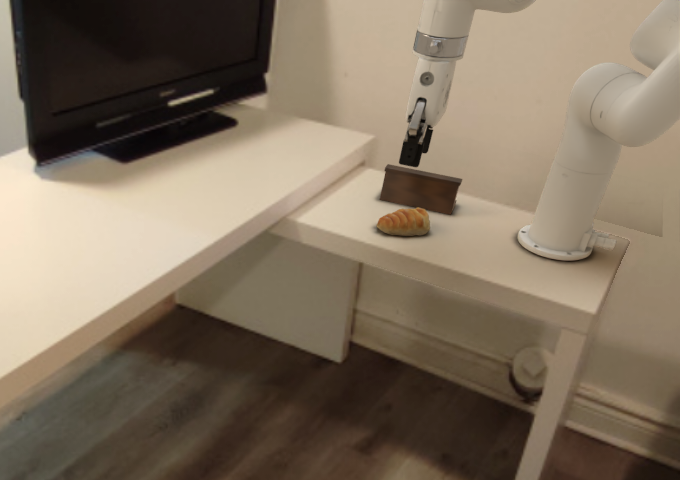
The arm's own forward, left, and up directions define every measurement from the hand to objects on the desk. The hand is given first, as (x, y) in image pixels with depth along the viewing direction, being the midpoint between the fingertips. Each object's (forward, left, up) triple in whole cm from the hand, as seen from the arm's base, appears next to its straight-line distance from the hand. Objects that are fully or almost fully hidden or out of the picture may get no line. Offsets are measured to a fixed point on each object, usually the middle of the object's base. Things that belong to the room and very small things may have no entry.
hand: (413, 157), depth 131 cm
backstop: (0, -22, -18) cm, 28 cm away
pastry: (0, -9, -18) cm, 20 cm away
